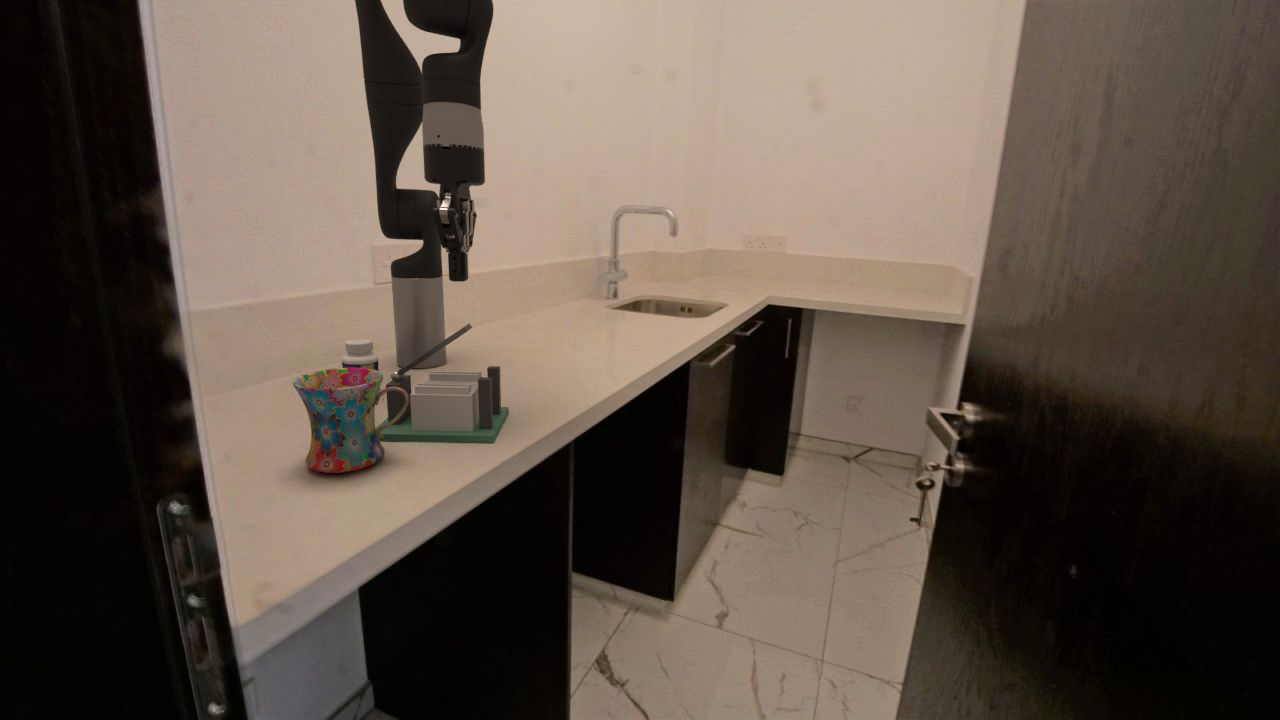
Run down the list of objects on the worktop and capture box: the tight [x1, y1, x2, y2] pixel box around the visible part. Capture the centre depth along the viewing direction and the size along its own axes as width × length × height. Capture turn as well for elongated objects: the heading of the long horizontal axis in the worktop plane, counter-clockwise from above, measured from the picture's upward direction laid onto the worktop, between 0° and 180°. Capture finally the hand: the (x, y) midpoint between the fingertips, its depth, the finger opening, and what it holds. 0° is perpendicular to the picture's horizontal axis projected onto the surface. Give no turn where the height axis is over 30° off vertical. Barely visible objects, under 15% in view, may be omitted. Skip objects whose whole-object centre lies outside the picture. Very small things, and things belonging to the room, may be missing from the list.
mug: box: [292, 367, 409, 474], centre depth 69 cm, size 12×9×11 cm
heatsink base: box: [375, 365, 510, 444], centre depth 82 cm, size 12×16×8 cm
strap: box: [390, 323, 473, 381], centre depth 80 cm, size 3×12×1 cm
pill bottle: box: [341, 338, 381, 396], centre depth 95 cm, size 5×5×9 cm
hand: (458, 280), depth 79 cm, fingers closed
